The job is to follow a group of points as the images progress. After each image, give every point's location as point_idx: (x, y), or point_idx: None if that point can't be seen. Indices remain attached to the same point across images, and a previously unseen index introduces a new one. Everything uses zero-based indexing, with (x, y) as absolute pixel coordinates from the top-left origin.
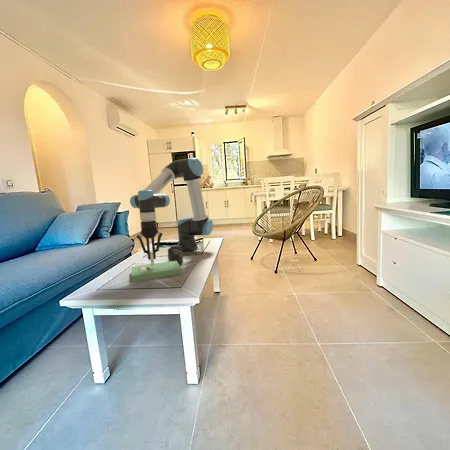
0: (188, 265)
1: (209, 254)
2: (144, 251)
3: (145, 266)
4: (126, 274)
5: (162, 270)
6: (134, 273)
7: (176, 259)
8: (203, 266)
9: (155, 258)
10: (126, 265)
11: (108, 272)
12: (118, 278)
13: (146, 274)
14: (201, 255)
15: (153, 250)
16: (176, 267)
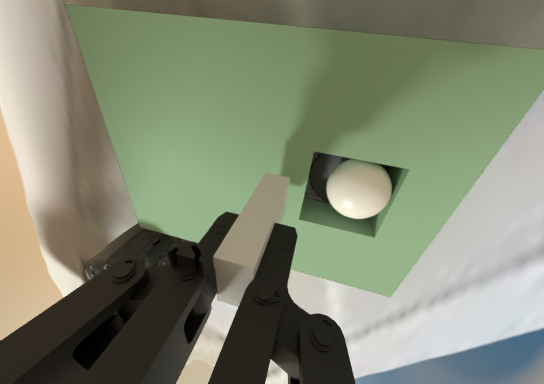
0: (104, 171)
1: (53, 244)
2: (331, 353)
3: (316, 248)
4: (431, 259)
5: (219, 53)
6: (472, 138)
7: (141, 239)
8: (20, 97)
9: (224, 213)
10: (364, 352)
11: (486, 343)
12: (522, 228)
13: (382, 34)
14: (80, 254)
15: (177, 298)
16: (112, 67)
